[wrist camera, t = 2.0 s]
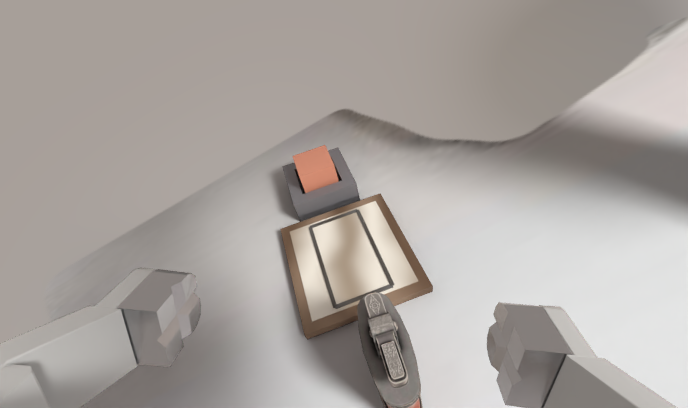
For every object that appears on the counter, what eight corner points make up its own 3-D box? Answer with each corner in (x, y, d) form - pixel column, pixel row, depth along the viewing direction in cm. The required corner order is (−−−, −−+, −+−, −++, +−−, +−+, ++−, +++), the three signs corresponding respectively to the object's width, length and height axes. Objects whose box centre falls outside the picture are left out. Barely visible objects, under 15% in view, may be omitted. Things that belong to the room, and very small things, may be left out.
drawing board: (381, 198, 44) (380, 192, 43) (432, 291, 34) (432, 285, 34) (283, 234, 43) (279, 228, 42) (307, 339, 34) (304, 334, 33)
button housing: (342, 164, 50) (338, 147, 48) (360, 200, 45) (356, 183, 43) (289, 182, 50) (282, 166, 48) (300, 221, 44) (293, 205, 42)
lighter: (363, 338, 33) (343, 283, 25) (398, 327, 33) (387, 269, 26) (391, 437, 27) (375, 402, 20) (432, 423, 27) (431, 384, 20)
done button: (330, 162, 47) (325, 144, 45) (339, 182, 44) (334, 164, 42) (299, 173, 47) (292, 156, 45) (306, 194, 44) (299, 177, 42)
